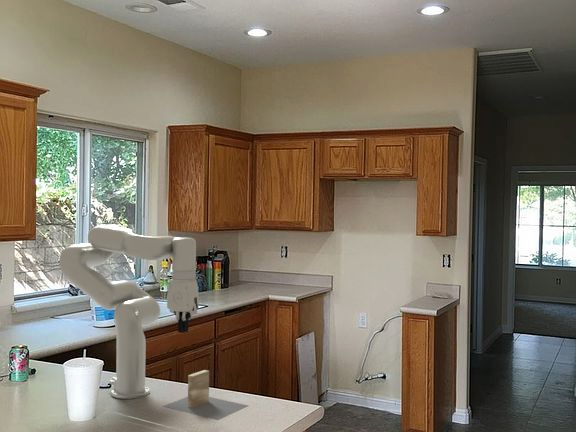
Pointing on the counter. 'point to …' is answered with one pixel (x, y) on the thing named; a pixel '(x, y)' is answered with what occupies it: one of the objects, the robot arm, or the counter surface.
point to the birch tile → (198, 388)
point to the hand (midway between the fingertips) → (183, 331)
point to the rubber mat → (208, 407)
